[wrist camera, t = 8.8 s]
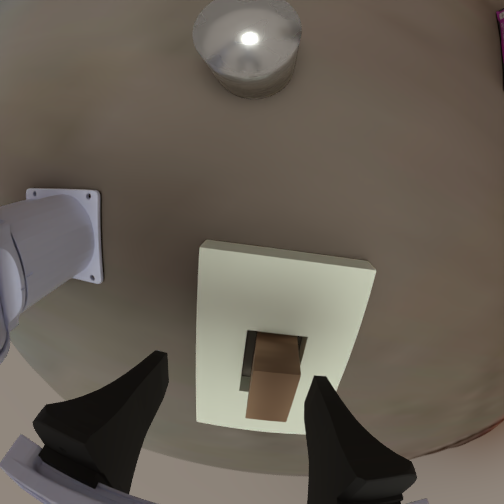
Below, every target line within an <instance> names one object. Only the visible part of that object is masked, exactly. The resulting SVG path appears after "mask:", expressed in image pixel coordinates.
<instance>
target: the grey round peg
mask: <svg viewBox="0 0 504 504" xmlns="http://www.w3.org/2000/svg"><path fill="white" fill-rule="evenodd" d="M300 37H301V22H300V19H299V16H298V15H297V13H296V11H295V10H294V9H293V7H292V6H291V5H290V4H289V3H287V2H286V1H285V0H214V1H212V2H211V3H209V4H208V5H207V6H206V7H205V8H204V9H203V10H202V11H201V12H200V14H199V15H198V17H197V19H196V21H195V24H194V27H193V41H194V45H195V47H196V49H197V51H198V53H199V54H200V55H201V57H202V58H203V59H204V61H205V62H206V64H207V65H208V66H209V68H210V69H211V71H212V72H213V73H214V75H215V76H216V78H217V79H218V80H219V82H220V83H221V84H222V86H223V87H224V88H225V89H226V90H227V91H229V92H230V93H232V94H234V95H236V96H239V97H242V98H246V99H262V98H266V97H269V96H272V95H274V94H276V93H278V92H279V91H281V90H282V89H283V88H284V87H285V86H286V85H287V84H288V83H289V81H290V80H291V78H292V75H293V72H294V67H295V62H296V57H297V52H298V47H299V42H300Z"/></svg>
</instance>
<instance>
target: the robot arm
mask: <svg viewBox="0 0 504 504" xmlns="http://www.w3.org/2000/svg"><path fill="white" fill-rule="evenodd" d="M89 194H90V195H91V198H89ZM92 275H93V276H94V278H95V279H94V278H93V276H92ZM71 278H75V279H79V280H83V281H87V282H92V283H96V284H100V283H101V282H103V268H102V253H101V230H100V193H99V191H97V190H86V189H58V188H29V189H27V191H26V200H23V201H19V202H15V203H11V204H8V205H4V206H1V207H0V364H1V363H2V362H3V360H4V359H5V358H6V356H7V354H8V351H9V348H10V335H9V332H10V331H11V330H13V329H14V328H15V327H16V326H18V325H19V321H18V318H19V315H20V313H22V312H24V311H25V310H26V309H28V308H29V307H30V306H32V305H33V304H35V303H36V302H37V301H39V300H40V299H42V298H43V297H44V296H46V295H47V294H49V293H50V292H52V291H53V290H55V289H56V288H58V287H59V286H60V285H62V284H63V283H65V282H66V281H68V280H69V279H71ZM168 383H169V377H168V359H167V353H165V352H161V351H154V352H153V353H151V354H150V355H149V356H148V357H147V358H145V359H144V360H143V361H142V362H140V363H139V364H138V365H137V366H135V367H134V368H133V369H131V370H130V371H129V372H127V373H126V374H124V375H123V376H121V377H120V378H118V379H117V380H115V381H113V382H112V383H110V384H108V385H107V386H105V387H103V388H101V389H99V390H97V391H94V392H92V393H89V394H87V395H84V396H82V397H78V398H75V399H72V400H68V401H64V402H59V403H53V404H47V405H46V406H45V407H44V408H43V409H42V410H41V412H40V413H39V414H38V415H37V417H36V418H35V420H34V421H33V426H34V429H35V431H36V432H37V434H38V435H39V437H40V438H41V440H42V441H43V443H44V444H45V445H44V447H43V449H42V448H41V447H40V446H38V445H37V444H36V443H34V442H33V441H31V440H30V439H28V438H27V437H25V436H24V435H20V436H19V437H18V438H17V440H16V441H15V443H14V444H13V445H12V447H11V448H10V449H9V451H8V452H7V454H6V455H5V457H4V458H3V459H2V461H1V462H0V468H1V469H2V470H3V471H4V472H5V473H6V474H7V475H8V476H9V477H10V478H11V479H12V480H13V481H14V482H15V483H16V484H18V485H19V486H20V487H21V488H22V489H23V490H25V491H26V492H27V493H29V494H30V495H32V496H33V497H34V498H36V499H38V500H39V501H40V502H42V503H43V504H156V503H153V502H150V501H147V500H144V499H141V498H138V497H135V496H132V495H129V491H130V487H131V483H132V478H133V475H134V471H135V467H136V463H137V460H138V457H139V454H140V450H141V447H142V444H143V441H144V438H145V436H146V433H147V431H148V429H149V427H150V425H151V423H152V421H153V419H154V417H155V415H156V413H157V411H158V408H159V406H160V404H161V402H162V400H163V398H164V395H165V392H166V389H167V386H168ZM304 424H305V432H306V440H307V447H308V456H309V485H308V501H307V504H401V502H400V501H402V500H403V496H402V493H403V492H404V491H405V490H407V489H408V488H409V487H410V486H411V485H412V484H413V483H414V482H415V481H416V479H417V476H416V472H415V469H414V466H413V464H412V462H411V461H409V460H408V459H406V458H404V457H402V456H400V455H398V454H396V453H395V452H393V451H392V450H390V449H389V448H387V447H386V446H384V445H383V444H382V443H380V442H379V441H378V440H377V439H376V438H374V437H373V436H372V435H371V434H370V433H369V432H368V431H367V430H366V429H365V428H364V427H363V426H362V425H361V424H360V423H359V422H358V421H357V420H356V419H355V417H354V416H353V415H352V414H351V412H350V411H349V410H348V408H347V407H346V406H345V404H344V403H343V401H342V400H341V399H340V397H339V396H338V394H337V392H336V391H335V389H334V388H333V386H332V385H331V383H330V381H329V380H328V378H327V377H326V376H316V375H314V377H313V380H312V383H311V386H310V388H309V391H308V394H307V396H306V399H305V402H304ZM407 504H429V503H428V500H427V498H425V499H422V500H418V501H414V502H410V503H407Z"/></svg>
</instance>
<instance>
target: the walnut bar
mask: <svg viewBox="0 0 504 504" xmlns="http://www.w3.org/2000/svg"><path fill="white" fill-rule="evenodd" d="M300 377H301V370H300V360H299V351H298V341H297V336H294V335H285V334H276V333H268V332H260V331H257V335H256V342H255V348H254V355H253V361H252V368H251V376H250V384H249V392H248V400H247V408H246V416H245V418H248V419H256V420H266V421H277V422H286V421H287V418H288V415H289V412H290V409H291V406H292V403H293V400H294V396H295V393H296V390H297V387H298V383H299V380H300Z"/></svg>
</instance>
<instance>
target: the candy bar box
mask: <svg viewBox="0 0 504 504" xmlns="http://www.w3.org/2000/svg"><path fill="white" fill-rule="evenodd" d="M496 13H497V18H498V23H499V30H500V37H501V45H502V55H503V70H504V8H503V9H501V10H499V11H497V12H496Z"/></svg>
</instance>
